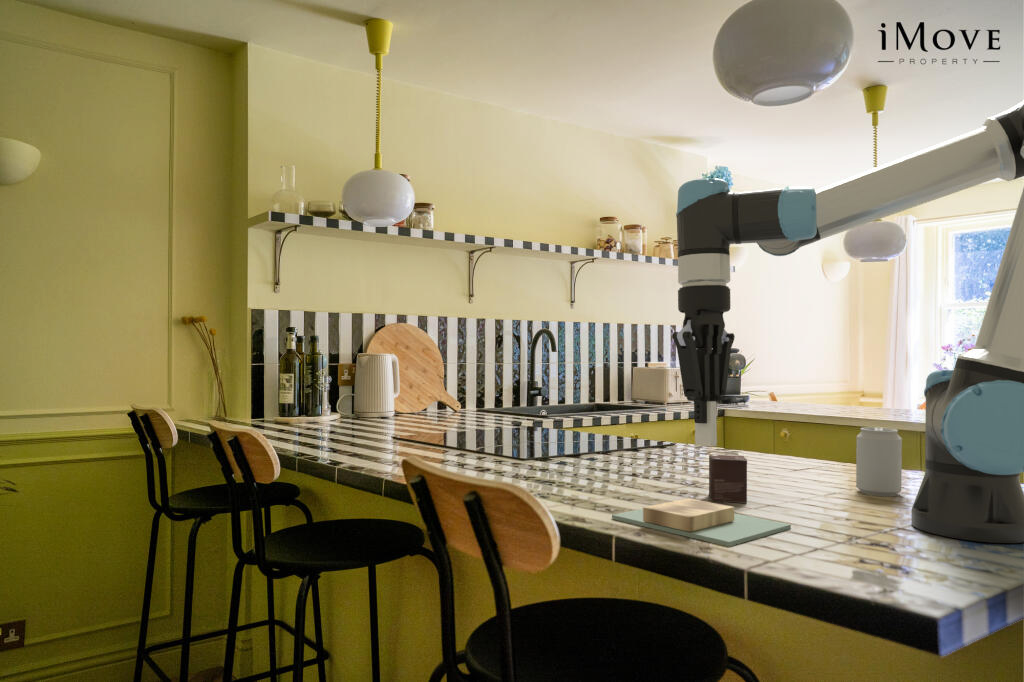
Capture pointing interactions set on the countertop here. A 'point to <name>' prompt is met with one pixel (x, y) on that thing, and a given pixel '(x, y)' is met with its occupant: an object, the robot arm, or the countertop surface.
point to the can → (879, 461)
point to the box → (728, 478)
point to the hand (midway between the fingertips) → (705, 445)
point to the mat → (716, 528)
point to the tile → (688, 514)
